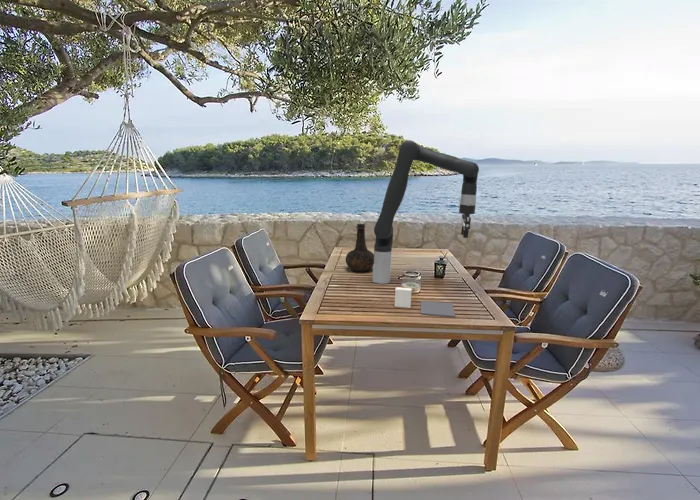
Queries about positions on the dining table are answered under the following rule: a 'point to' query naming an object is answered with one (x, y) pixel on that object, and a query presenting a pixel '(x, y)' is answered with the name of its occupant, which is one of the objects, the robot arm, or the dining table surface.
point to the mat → (437, 309)
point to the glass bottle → (360, 253)
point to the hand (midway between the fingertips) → (464, 236)
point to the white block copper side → (403, 297)
